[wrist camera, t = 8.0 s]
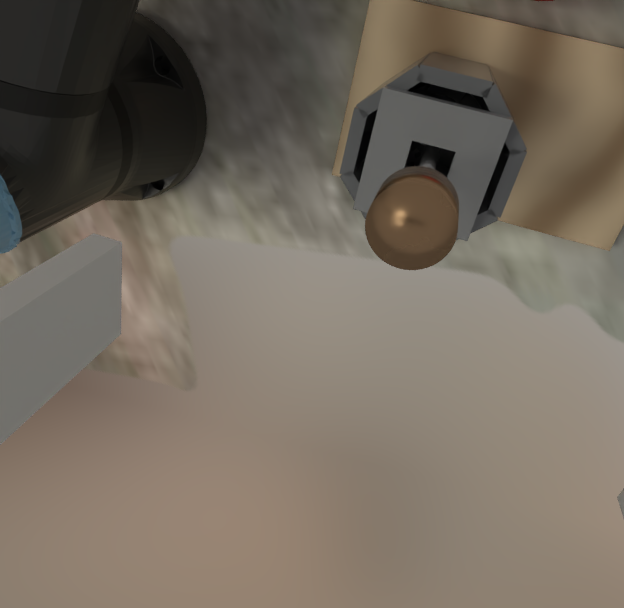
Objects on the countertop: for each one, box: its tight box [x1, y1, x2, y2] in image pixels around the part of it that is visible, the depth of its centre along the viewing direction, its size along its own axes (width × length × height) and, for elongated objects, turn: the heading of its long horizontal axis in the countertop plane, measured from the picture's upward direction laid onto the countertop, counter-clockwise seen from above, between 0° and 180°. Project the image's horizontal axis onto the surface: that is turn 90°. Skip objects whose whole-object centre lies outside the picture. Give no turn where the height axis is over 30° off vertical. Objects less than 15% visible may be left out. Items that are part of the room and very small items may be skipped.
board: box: [332, 0, 624, 251], centre depth 39 cm, size 22×13×1 cm, turn 78°
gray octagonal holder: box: [339, 52, 527, 241], centre depth 35 cm, size 10×12×12 cm
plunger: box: [365, 84, 482, 270], centre depth 29 cm, size 7×7×20 cm
